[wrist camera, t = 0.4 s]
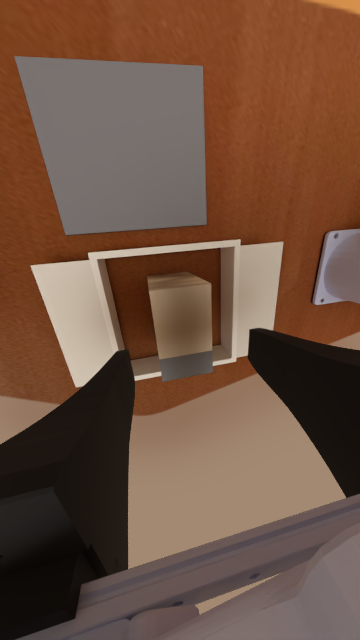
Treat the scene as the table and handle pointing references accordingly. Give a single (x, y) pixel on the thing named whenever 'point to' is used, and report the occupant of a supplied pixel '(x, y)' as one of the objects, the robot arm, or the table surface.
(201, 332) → the block
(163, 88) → the mat
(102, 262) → the beige hollow rectangular frame
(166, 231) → the table surface
